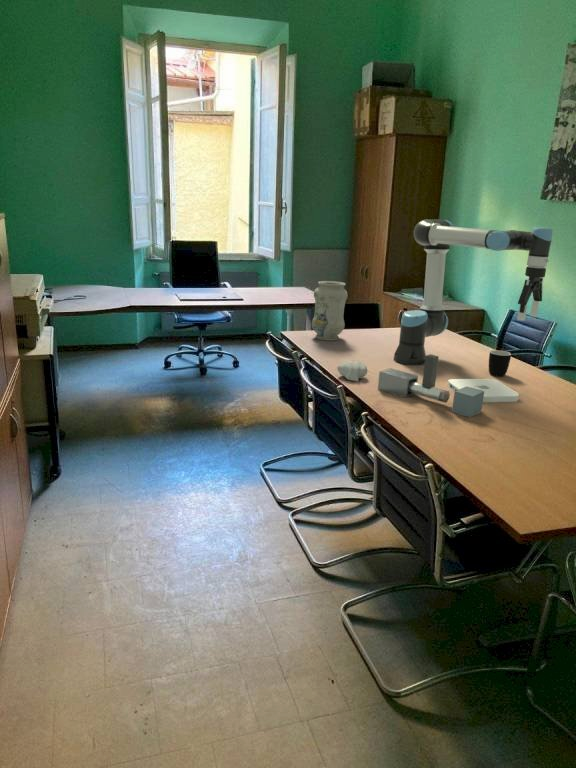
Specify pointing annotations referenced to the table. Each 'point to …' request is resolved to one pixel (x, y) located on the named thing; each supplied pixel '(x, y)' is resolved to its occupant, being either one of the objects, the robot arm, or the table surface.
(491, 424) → the table surface
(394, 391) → the sleeve
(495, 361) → the mug
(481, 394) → the grey block
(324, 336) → the vase
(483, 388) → the computer
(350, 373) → the shell shaped sculpture
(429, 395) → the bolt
